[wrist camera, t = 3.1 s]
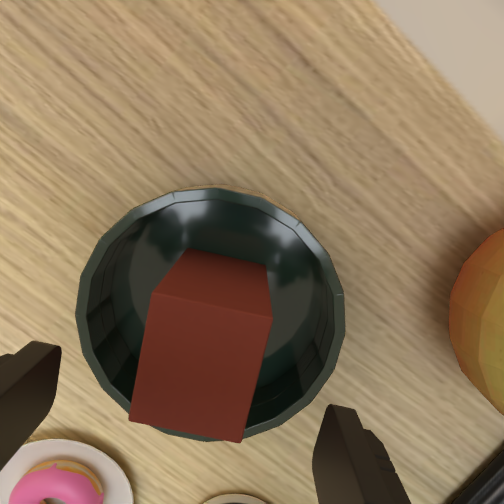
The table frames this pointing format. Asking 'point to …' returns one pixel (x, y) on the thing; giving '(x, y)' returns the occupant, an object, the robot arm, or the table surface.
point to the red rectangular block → (203, 346)
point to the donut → (63, 475)
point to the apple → (481, 319)
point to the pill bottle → (234, 499)
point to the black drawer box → (486, 485)
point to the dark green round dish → (227, 244)
